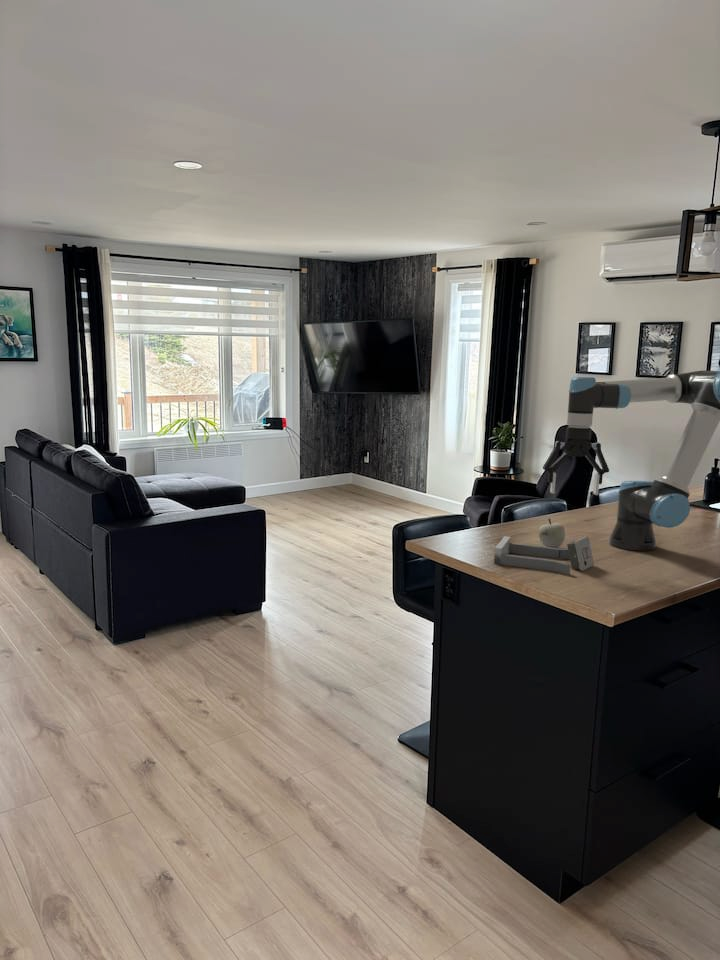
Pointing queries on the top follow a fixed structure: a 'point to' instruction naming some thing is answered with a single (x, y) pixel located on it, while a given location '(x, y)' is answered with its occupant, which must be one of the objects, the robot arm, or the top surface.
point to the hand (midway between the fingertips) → (573, 493)
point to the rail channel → (528, 562)
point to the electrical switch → (580, 554)
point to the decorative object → (552, 535)
